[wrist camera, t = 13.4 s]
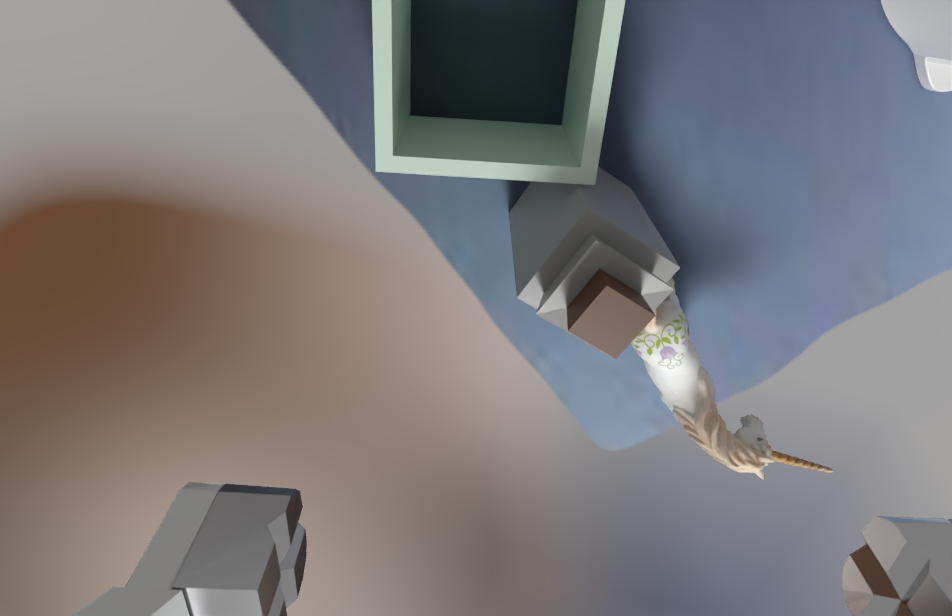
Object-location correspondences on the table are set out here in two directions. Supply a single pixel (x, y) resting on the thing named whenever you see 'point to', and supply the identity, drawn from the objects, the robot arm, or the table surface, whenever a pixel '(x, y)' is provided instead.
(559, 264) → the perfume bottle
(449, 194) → the table surface
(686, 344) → the unicorn figurine
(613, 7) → the mint green open box
